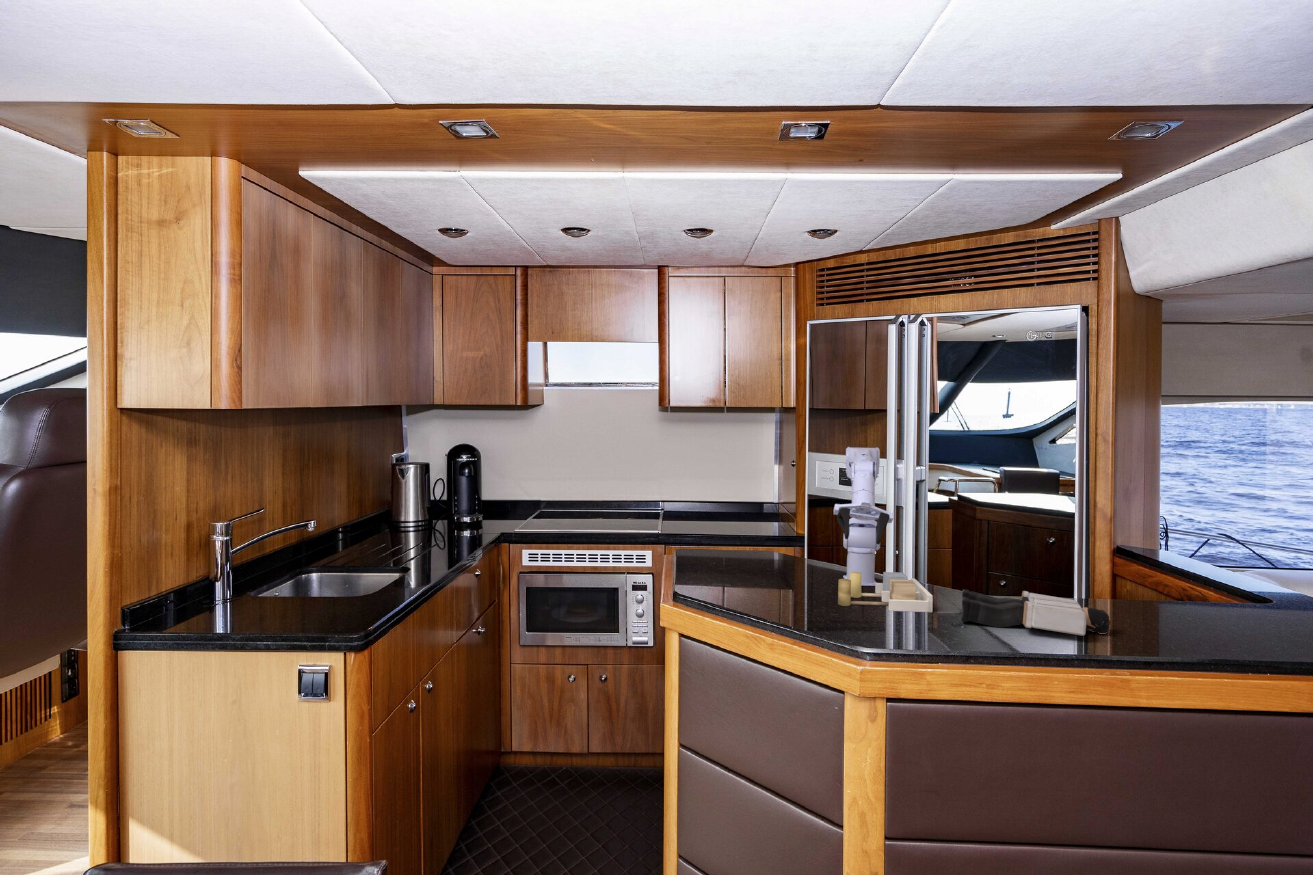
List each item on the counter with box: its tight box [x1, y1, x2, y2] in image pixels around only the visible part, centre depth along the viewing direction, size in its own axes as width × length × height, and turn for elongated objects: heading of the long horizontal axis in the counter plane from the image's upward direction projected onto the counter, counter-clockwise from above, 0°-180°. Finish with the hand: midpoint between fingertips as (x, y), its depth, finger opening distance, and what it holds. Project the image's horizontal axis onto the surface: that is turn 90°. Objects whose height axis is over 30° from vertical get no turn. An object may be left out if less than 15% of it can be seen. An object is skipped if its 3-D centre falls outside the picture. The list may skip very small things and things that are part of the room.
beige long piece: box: [837, 578, 916, 607], centre depth 180 cm, size 5×18×6 cm, turn 84°
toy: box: [960, 588, 1111, 636], centre depth 165 cm, size 19×7×30 cm
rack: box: [874, 577, 934, 613], centre depth 183 cm, size 17×10×4 cm, turn 174°
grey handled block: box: [849, 571, 909, 599], centre depth 188 cm, size 5×14×6 cm, turn 84°
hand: (862, 539), depth 180 cm, fingers open, 7 cm apart
